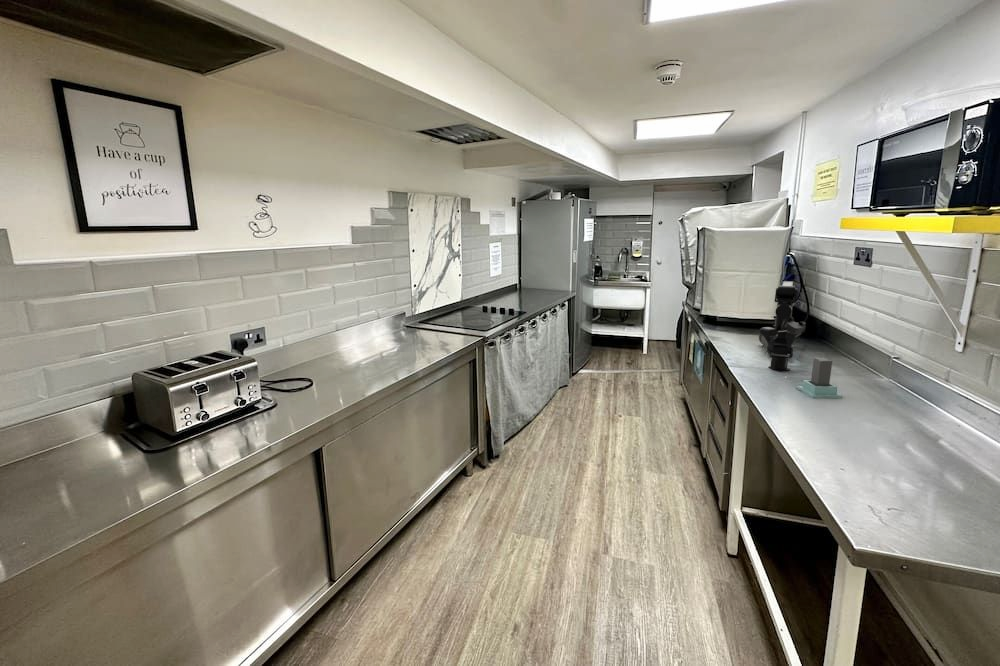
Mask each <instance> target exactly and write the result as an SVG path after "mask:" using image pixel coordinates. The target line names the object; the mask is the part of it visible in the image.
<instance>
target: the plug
mask: <svg viewBox="0 0 1000 666" xmlns="http://www.w3.org/2000/svg"><path fill="white" fill-rule="evenodd" d="M812 362H813V363H812V370H811V378H810V380H811V384H813V385H815V386H829V383H831V382H830V381H831V373H832V368H833V366H832V365H833V360H831V359H828V357H813V361H812Z"/></svg>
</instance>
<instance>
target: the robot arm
mask: <svg viewBox="0 0 1000 666" xmlns="http://www.w3.org/2000/svg"><path fill="white" fill-rule="evenodd" d="M798 296H799V287H797V286H796V285H795V281H793V280H791V281H790V280H789V281H788V280H784V281H781V284H780V285H778V287H776V288H775V295H774V303H776V308H775V315H773V319H775V320H774V321H775V323H774V324H773V325H772V327H770V326H765V327H761V328H760V329H759V334H762V335H763V336H764V337H765V339H766V341H767V343H768V345H769V348H770V354H769V357H771V359H770V365H769V366H768V367H767V368H768V369H771V370H774V371H777V372H785V371H790V370H791V368H788V362H789V359H792V358H793V355H794V353H793V352H794V347H792V346H793V344H794V342H795V341H796V339H797V337H799V336H801V335H802V334H804V333H805V332H806V331H805V330H806V327H807V326H806V322H805V321H799V322H796V321H795V318H794V316H792V315H793V307H794V306H795V304H796V302H798V298H799V297H798ZM777 334H778V335H777ZM776 335H777V336H776ZM772 352H773V353H772Z"/></svg>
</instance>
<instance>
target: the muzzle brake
mask: <svg viewBox="0 0 1000 666" xmlns="http://www.w3.org/2000/svg"><path fill="white" fill-rule="evenodd" d="M777 335H778V334H777ZM777 335H776V336H777ZM758 341H759V343H760V344H761V345H762V346H763V347H764V349H765V351H766V352H767V353H768V355H770V348H769V345H768V343H767V341H766V339H765V337H764V336H763V335H762V334H760V333H758ZM772 353H773V352H772Z"/></svg>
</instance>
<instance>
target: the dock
mask: <svg viewBox="0 0 1000 666" xmlns="http://www.w3.org/2000/svg"><path fill="white" fill-rule="evenodd" d="M796 389H797V390H799V391H801V392H802V393H804V394H805V395H807V396H808V397H810V398H812V399H825V398H826V399H831V398H832V399H833V398H834V399H835V398H836V399H840V398H843V395H842V394H841V393H839V392H838V389H839V387H838V386H837V385H835V384H833V383H831V382H830V383H829V386H815V385H813V384H811V379H803V380H802V385H797V386H796Z"/></svg>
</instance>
